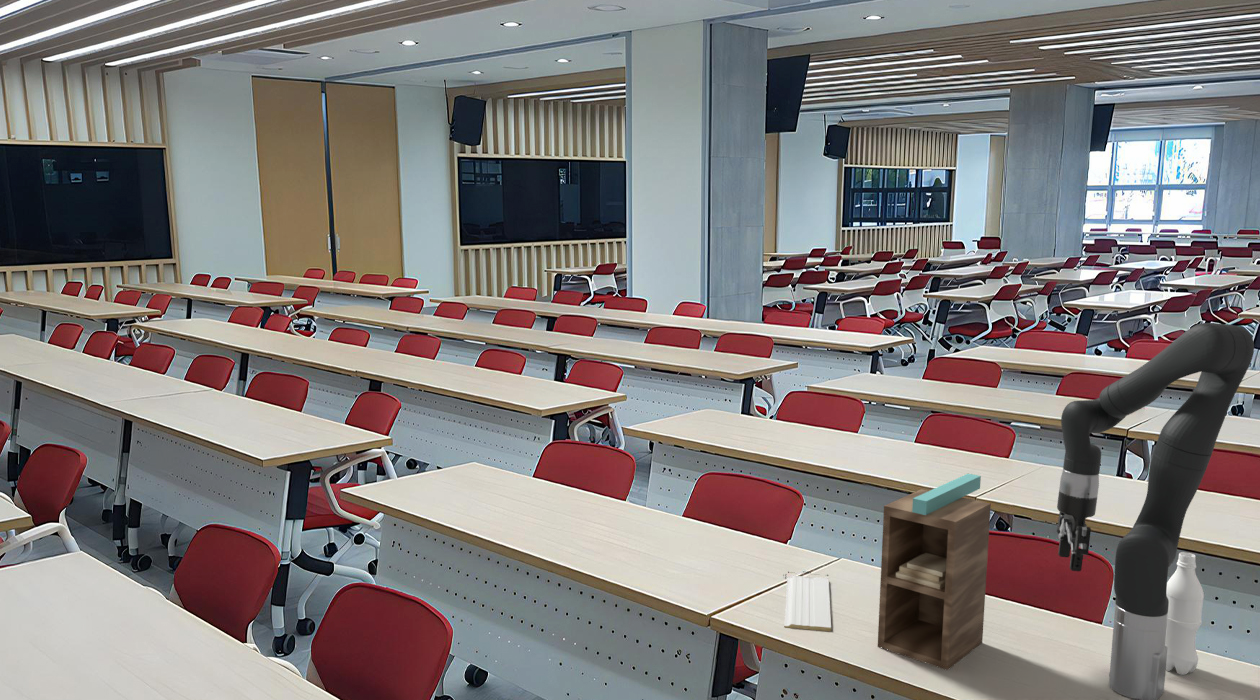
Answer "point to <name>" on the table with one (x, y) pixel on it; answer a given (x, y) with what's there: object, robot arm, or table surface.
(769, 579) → the table surface
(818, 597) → the baseboard molding
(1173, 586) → the water bottle
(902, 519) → the rack
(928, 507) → the rectangular block
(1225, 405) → the robot arm
